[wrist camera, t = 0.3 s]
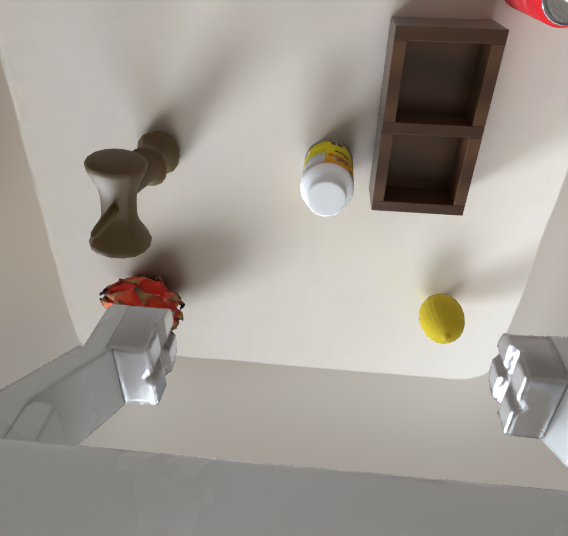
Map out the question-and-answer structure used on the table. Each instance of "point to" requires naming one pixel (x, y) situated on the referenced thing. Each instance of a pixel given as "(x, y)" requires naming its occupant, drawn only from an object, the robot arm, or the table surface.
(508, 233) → the table surface
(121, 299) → the dragon fruit
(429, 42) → the divided wooden box
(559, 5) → the beverage can
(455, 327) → the lemon
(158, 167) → the kendama
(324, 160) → the supplement bottle
